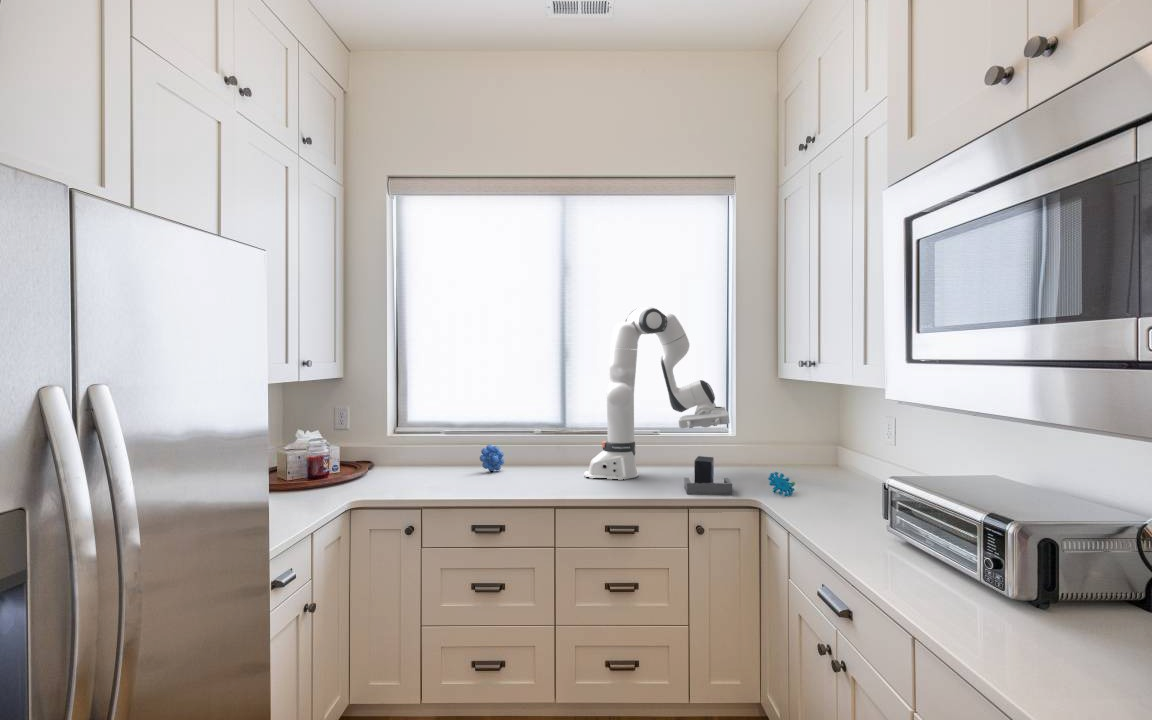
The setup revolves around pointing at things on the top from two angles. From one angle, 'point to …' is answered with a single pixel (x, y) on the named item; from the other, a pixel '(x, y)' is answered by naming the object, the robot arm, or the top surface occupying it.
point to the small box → (704, 470)
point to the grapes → (492, 458)
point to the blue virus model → (781, 484)
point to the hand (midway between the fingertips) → (702, 425)
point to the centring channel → (708, 488)
